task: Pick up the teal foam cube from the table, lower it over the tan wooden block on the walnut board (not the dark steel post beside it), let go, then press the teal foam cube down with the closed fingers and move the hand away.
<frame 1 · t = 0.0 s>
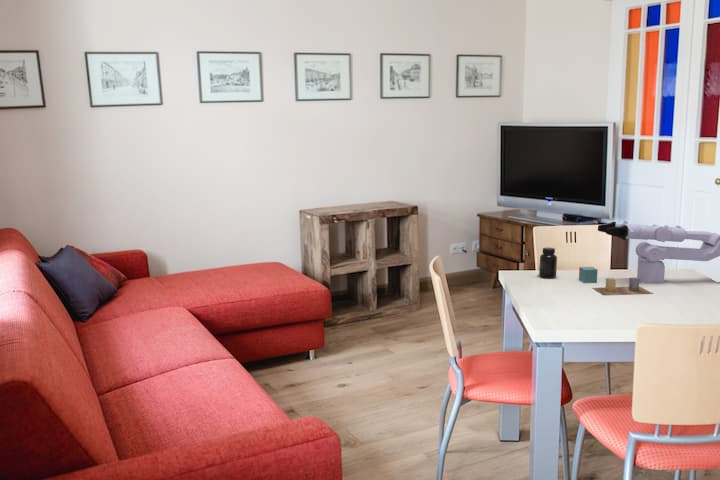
hand: (602, 229, 257), 22 cm above the table, tool horizontal, fingers open, 7 cm apart
teal foam cube: (587, 283, 263), on the table
tan wooden block: (610, 291, 247), resting on base board
steel post: (633, 290, 248), resting on base board
base board: (621, 292, 248), on the table
supplement bottle: (547, 277, 274), on the table
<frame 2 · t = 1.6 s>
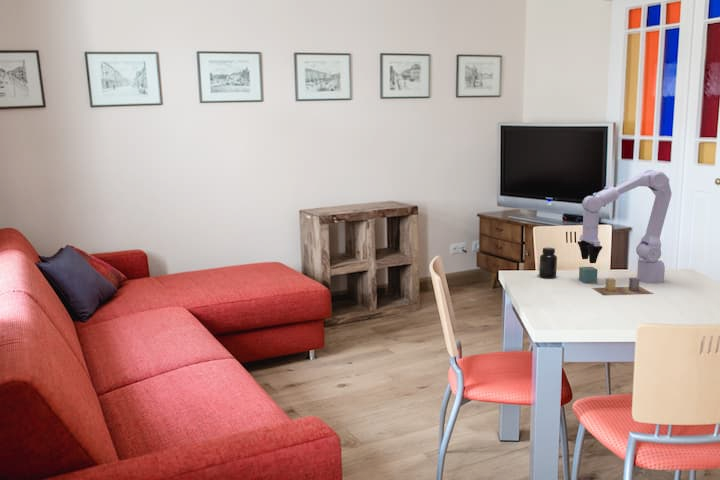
hand: (588, 261, 261), 9 cm above the table, tool pointing down, fingers open, 7 cm apart
nothing on the table moved.
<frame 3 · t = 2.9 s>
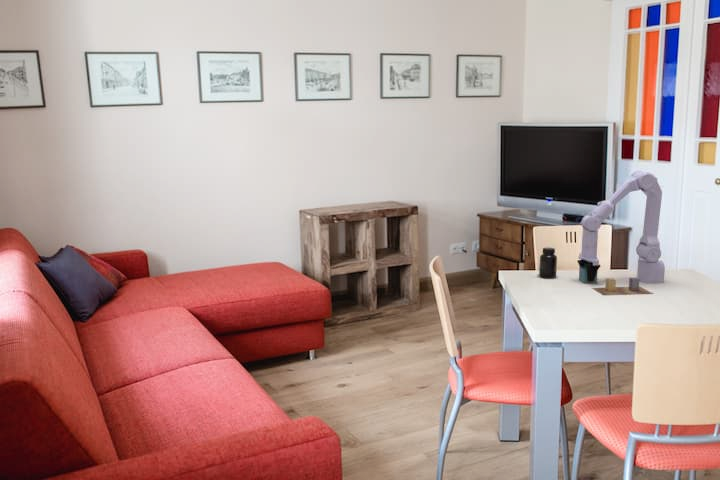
hand: (587, 279, 263), 1 cm above the table, tool pointing down, fingers closed on teal foam cube, 5 cm apart
teal foam cube: (587, 283, 263), on the table, touching gripper
everything else where it was.
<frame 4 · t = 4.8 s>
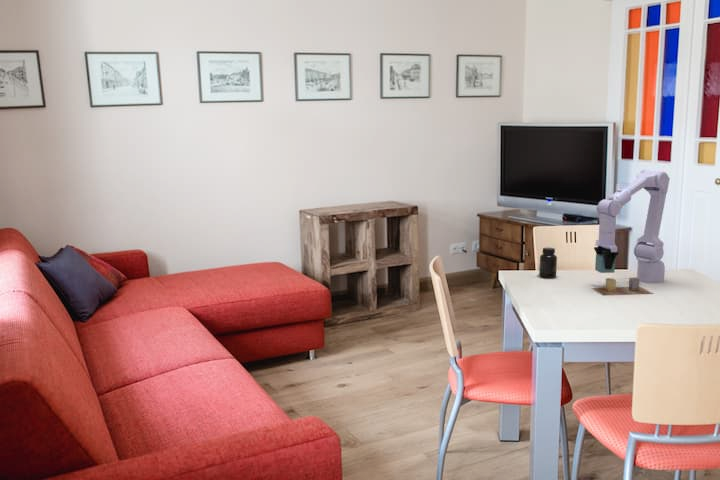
hand: (605, 267, 250), 9 cm above the table, tool pointing down, fingers closed on teal foam cube, 5 cm apart
teal foam cube: (604, 271, 250), point 7 cm above the table, touching gripper
everything else where it was.
when the fingers open (3 cm above the table, at t = 7.0 s): teal foam cube stays where it is, resting on base board.
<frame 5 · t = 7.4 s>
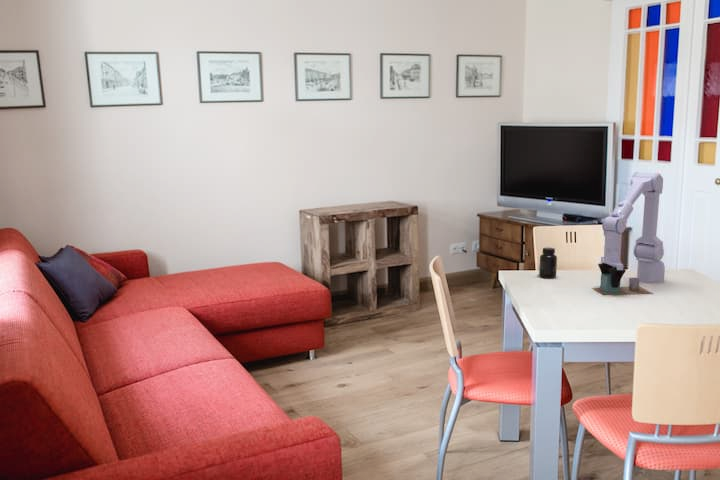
hand: (610, 284, 247), 3 cm above the table, tool pointing down, fingers open, 7 cm apart
teal foam cube: (609, 291, 247), point 1 cm above the table, touching base board
everything else where it was.
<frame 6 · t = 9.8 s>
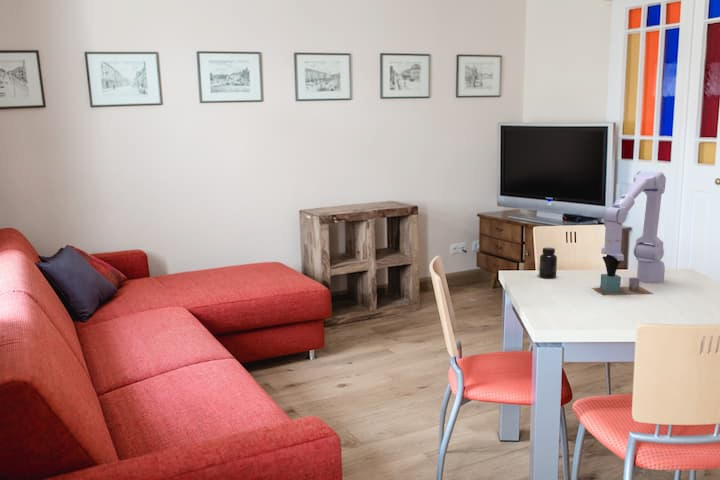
hand: (611, 275, 246), 7 cm above the table, tool pointing down, fingers closed, pressing on teal foam cube
teal foam cube: (609, 291, 247), point 1 cm above the table, touching base board, gripper
everything else where it was.
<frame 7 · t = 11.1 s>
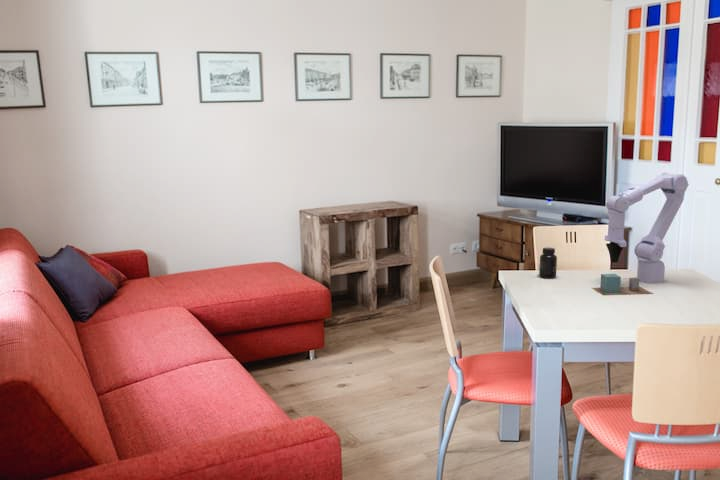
hand: (614, 262, 257), 9 cm above the table, tool pointing down, fingers closed
teal foam cube: (609, 291, 247), point 1 cm above the table, touching base board
everything else where it was.
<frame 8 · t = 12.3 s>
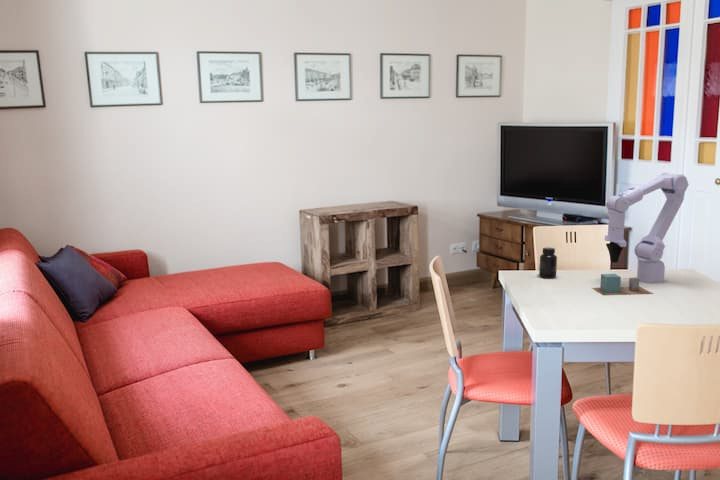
hand: (614, 262, 257), 9 cm above the table, tool pointing down, fingers closed
nothing on the table moved.
at the end: teal foam cube 0.1 cm from the tan wooden block (horizontally); teal foam cube point 0.8 cm above the table; the gripper is holding nothing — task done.
